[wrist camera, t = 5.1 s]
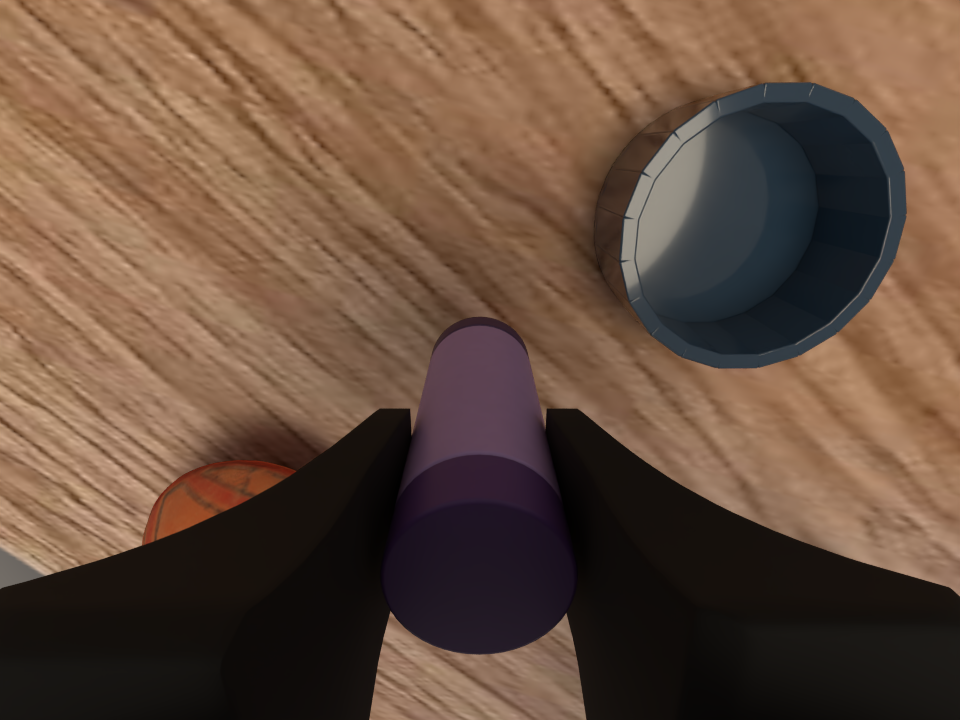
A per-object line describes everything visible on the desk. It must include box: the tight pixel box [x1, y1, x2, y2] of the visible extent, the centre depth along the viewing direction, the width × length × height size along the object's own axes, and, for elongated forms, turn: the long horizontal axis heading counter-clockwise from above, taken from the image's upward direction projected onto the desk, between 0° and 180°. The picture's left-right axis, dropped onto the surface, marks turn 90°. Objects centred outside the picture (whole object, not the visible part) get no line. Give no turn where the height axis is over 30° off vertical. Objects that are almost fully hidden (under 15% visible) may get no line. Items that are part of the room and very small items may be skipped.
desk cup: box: [594, 82, 907, 368], centre depth 18 cm, size 8×8×4 cm
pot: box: [142, 460, 296, 545], centre depth 21 cm, size 8×8×7 cm
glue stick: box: [380, 317, 578, 655], centre depth 11 cm, size 3×3×8 cm
